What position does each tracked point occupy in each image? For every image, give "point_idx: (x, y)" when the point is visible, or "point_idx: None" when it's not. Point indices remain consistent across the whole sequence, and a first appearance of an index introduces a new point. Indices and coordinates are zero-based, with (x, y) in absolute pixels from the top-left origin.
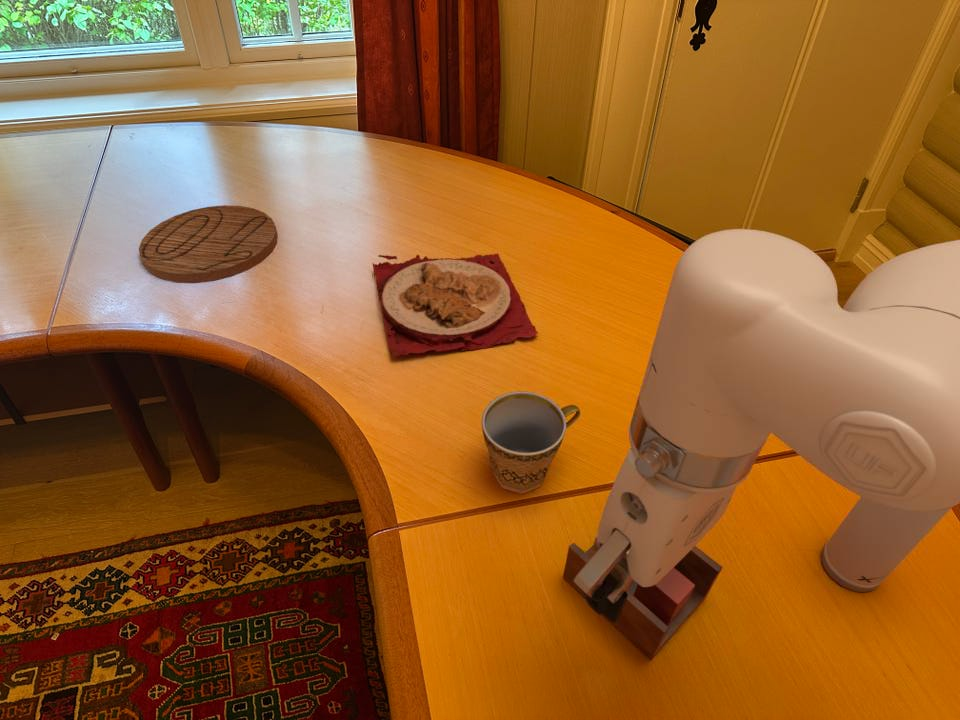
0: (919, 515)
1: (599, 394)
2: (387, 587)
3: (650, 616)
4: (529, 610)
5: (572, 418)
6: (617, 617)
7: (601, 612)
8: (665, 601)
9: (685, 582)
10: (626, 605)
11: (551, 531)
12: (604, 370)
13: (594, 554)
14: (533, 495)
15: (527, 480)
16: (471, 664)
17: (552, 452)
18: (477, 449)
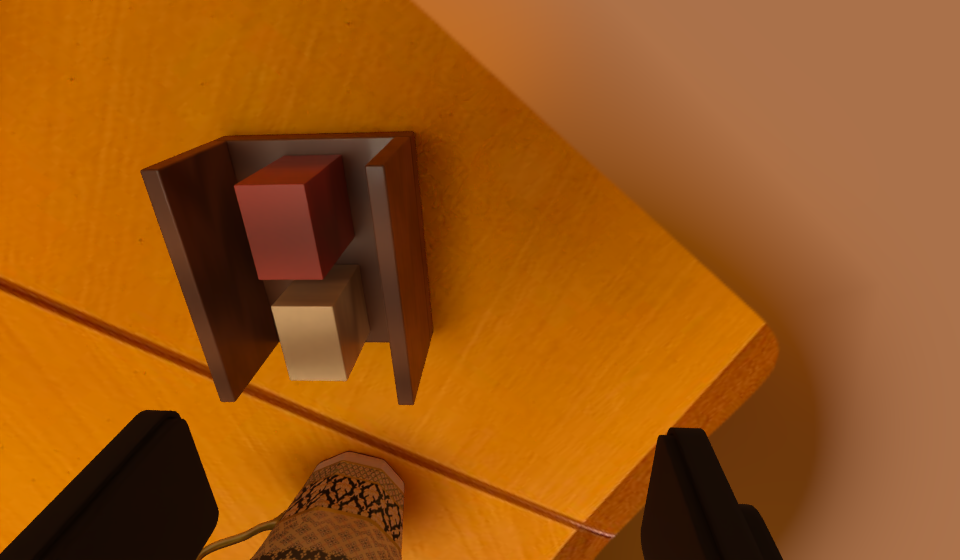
0: None
1: None
2: None
3: (382, 210)
4: (521, 329)
5: (214, 550)
6: (705, 455)
7: (762, 525)
8: (319, 202)
9: (250, 204)
10: (401, 253)
11: (388, 392)
12: None
13: (363, 338)
14: (368, 447)
15: (369, 494)
16: (662, 330)
17: (305, 553)
18: None
